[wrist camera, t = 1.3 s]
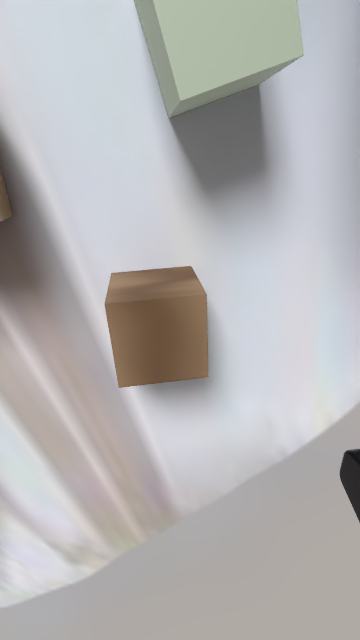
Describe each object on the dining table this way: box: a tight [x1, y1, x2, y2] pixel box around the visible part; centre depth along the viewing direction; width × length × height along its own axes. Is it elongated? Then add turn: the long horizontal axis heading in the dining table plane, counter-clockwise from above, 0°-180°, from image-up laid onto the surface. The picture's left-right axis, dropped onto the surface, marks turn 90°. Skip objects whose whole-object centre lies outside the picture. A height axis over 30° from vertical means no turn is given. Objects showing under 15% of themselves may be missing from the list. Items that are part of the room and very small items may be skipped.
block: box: [134, 0, 304, 118], centre depth 12 cm, size 4×4×4 cm
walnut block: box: [105, 266, 208, 388], centre depth 17 cm, size 4×4×4 cm
